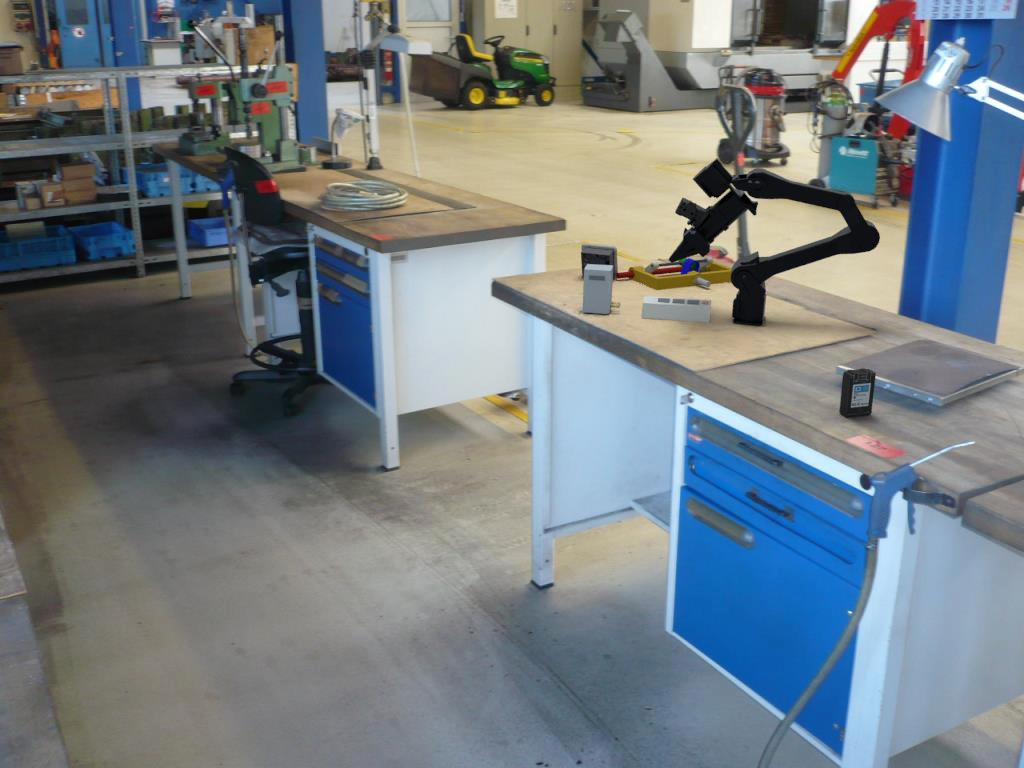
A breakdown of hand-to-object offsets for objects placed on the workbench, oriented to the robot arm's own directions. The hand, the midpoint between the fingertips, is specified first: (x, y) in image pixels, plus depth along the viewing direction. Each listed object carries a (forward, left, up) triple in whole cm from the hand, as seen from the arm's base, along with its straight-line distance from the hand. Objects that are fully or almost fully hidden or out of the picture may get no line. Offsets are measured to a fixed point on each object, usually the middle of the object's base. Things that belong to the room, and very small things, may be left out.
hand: (669, 260), depth 238 cm
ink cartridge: (-43, +51, -13) cm, 68 cm away
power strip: (-1, -5, -13) cm, 14 cm away
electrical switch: (+23, -28, -13) cm, 39 cm away
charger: (+15, +2, -12) cm, 19 cm away
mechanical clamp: (+3, -33, -13) cm, 36 cm away
